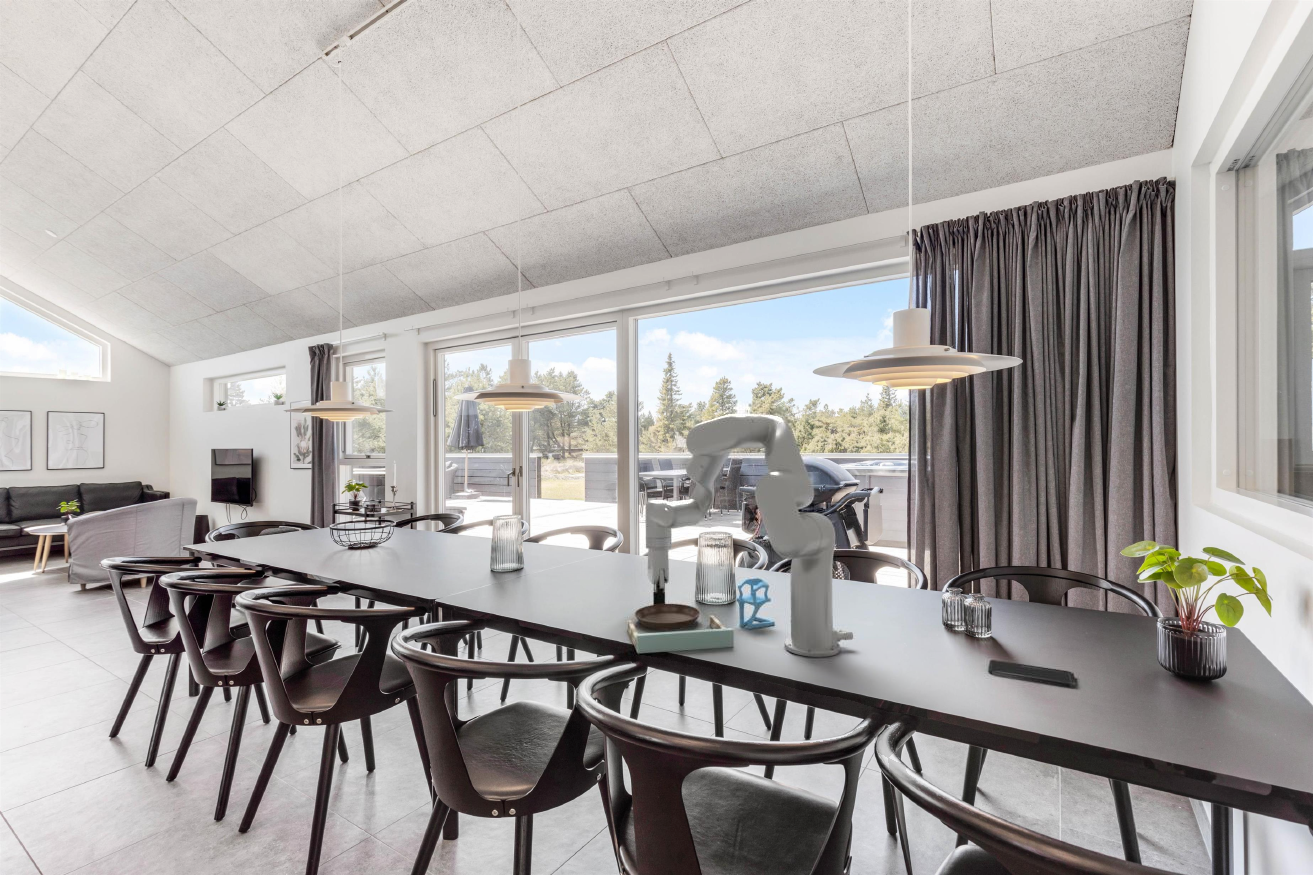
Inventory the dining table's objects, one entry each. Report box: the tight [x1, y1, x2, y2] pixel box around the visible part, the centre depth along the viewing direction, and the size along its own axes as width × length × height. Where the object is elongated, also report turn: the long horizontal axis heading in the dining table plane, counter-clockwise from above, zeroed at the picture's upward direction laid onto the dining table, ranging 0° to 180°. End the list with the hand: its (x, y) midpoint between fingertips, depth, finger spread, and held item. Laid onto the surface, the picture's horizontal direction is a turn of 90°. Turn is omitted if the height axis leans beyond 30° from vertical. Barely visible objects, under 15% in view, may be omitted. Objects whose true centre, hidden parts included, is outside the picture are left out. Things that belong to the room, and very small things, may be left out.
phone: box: [987, 659, 1076, 689], centre depth 126 cm, size 8×1×15 cm
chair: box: [735, 578, 776, 630], centre depth 163 cm, size 8×8×12 cm
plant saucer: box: [634, 603, 701, 631], centre depth 166 cm, size 18×18×3 cm
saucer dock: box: [627, 615, 735, 654], centre depth 152 cm, size 18×23×4 cm
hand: (659, 605), depth 178 cm, fingers closed
